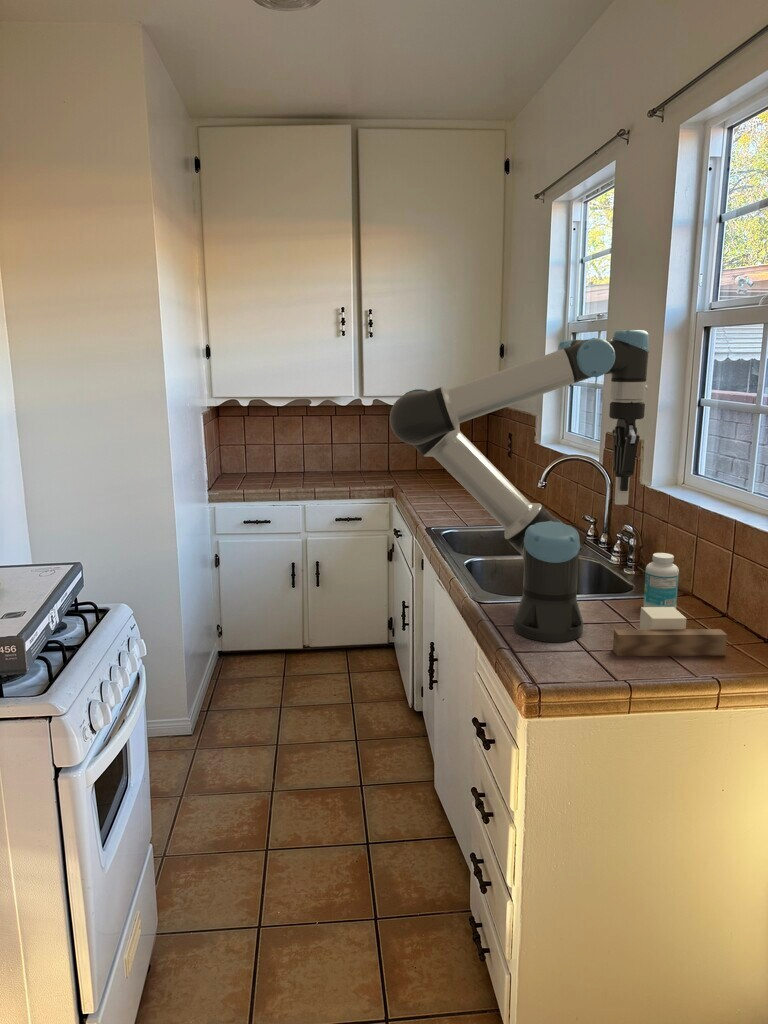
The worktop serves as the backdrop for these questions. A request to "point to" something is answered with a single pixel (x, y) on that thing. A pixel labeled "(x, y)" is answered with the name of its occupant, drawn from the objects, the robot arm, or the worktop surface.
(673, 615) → the block
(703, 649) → the board
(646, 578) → the pill bottle
